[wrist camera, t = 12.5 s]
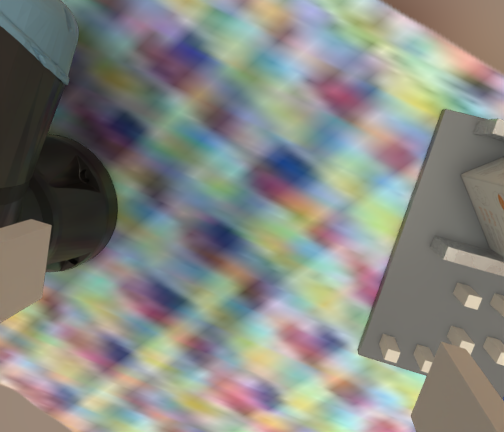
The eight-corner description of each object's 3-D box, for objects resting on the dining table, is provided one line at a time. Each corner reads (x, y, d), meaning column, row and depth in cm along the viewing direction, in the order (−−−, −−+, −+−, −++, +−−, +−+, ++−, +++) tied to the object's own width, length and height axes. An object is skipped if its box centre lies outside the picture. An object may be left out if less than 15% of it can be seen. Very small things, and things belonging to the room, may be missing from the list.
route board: (357, 349, 43) (361, 371, 39) (442, 109, 37) (457, 106, 33) (497, 392, 41) (516, 419, 37) (609, 150, 35) (646, 152, 31)
